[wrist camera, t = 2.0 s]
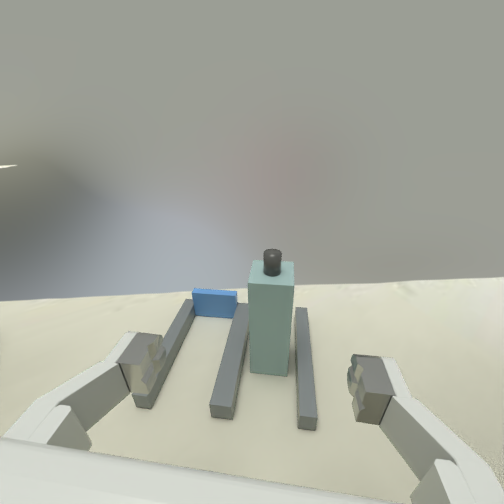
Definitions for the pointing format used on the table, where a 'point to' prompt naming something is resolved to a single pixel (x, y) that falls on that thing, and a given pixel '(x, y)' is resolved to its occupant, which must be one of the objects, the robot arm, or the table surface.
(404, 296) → the table surface
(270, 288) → the capped teal pillar
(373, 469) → the table surface
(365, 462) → the table surface
